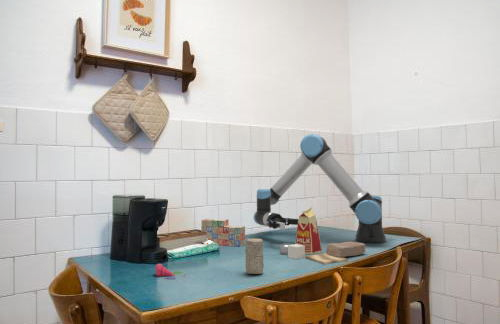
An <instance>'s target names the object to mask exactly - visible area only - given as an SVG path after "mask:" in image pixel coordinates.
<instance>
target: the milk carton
mask: <svg viewBox="0 0 500 324" xmlns="http://www.w3.org/2000/svg"><path fill="white" fill-rule="evenodd" d="M297 219H298V225H296V226H297V227H296V237H295V244H298V245H303V246H305V255H317V254H322V253H323V250H322V243H321V237H320V231H319V226H318V221H317V217H316V214H315V212H314V211H313V210H312V206H310V207H308V208H307V209H305V210H303V211H302V214H300V215H299V216H298V218H297Z"/></svg>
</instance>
